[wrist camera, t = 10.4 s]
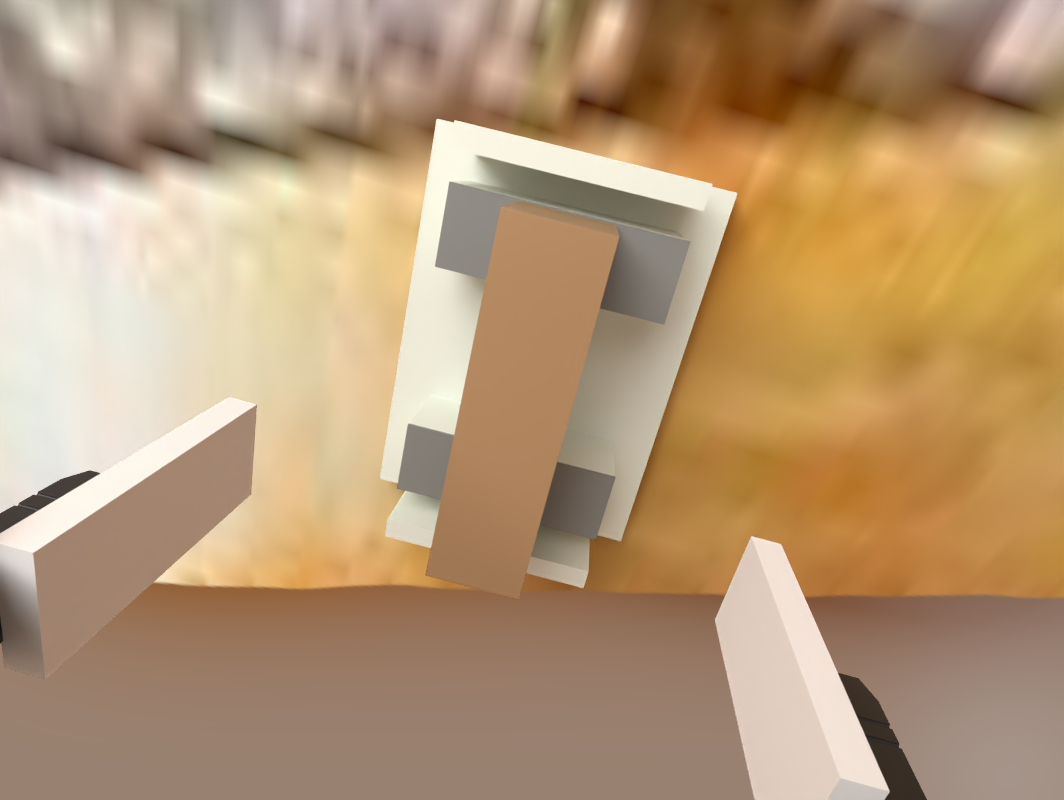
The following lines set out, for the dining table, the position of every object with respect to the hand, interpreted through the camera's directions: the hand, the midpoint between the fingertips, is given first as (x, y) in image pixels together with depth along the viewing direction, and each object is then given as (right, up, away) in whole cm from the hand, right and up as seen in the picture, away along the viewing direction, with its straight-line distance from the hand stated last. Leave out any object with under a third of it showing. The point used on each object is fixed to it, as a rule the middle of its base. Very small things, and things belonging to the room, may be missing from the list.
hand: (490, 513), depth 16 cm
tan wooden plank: (+1, +4, +11) cm, 12 cm away
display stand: (+2, +6, +17) cm, 18 cm away
